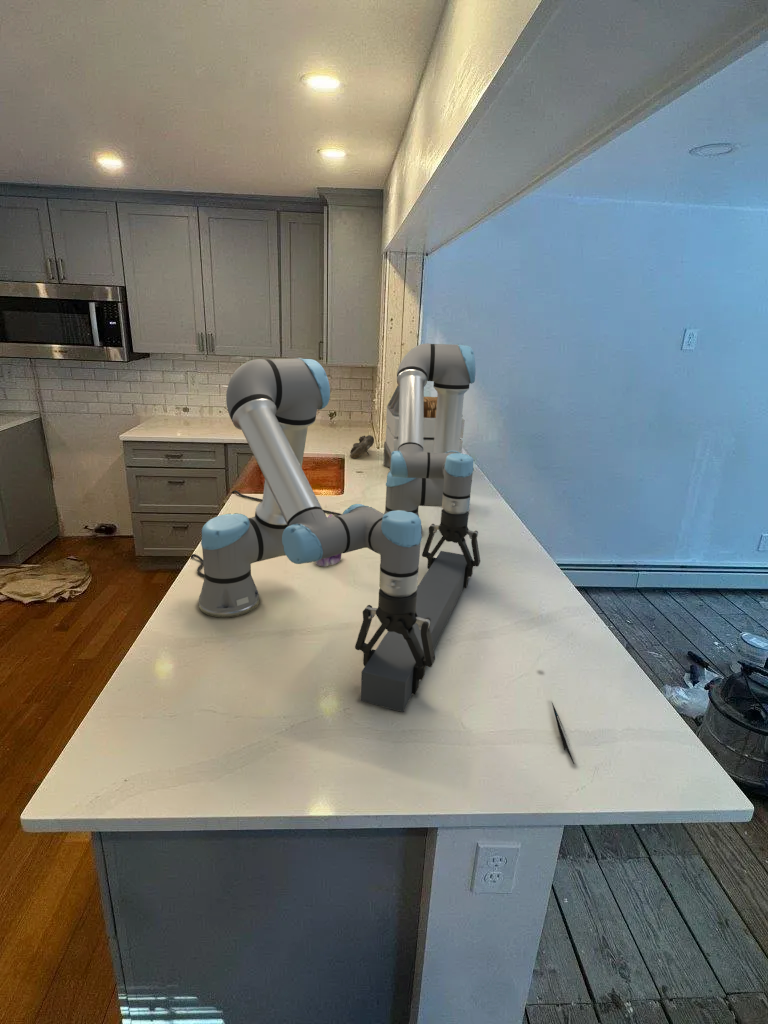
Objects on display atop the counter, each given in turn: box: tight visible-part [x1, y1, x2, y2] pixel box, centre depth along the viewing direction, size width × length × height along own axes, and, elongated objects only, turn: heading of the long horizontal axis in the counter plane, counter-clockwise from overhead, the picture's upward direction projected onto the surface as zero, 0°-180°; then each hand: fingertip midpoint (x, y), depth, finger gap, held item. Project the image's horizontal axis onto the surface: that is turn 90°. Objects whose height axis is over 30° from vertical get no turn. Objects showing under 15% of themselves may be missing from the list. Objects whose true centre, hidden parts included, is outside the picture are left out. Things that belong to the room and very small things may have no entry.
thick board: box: [360, 550, 470, 713], centre depth 141 cm, size 65×9×7 cm, turn 161°
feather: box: [540, 670, 575, 765], centre depth 113 cm, size 2×28×2 cm
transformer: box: [383, 384, 465, 472], centre depth 268 cm, size 34×33×41 cm
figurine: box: [315, 513, 342, 567], centre depth 173 cm, size 9×10×15 cm
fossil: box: [349, 434, 375, 459], centre depth 303 cm, size 22×10×15 cm
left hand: (392, 684), depth 119 cm, fingers closed on thick board, 9 cm apart
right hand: (448, 582), depth 165 cm, fingers closed on thick board, 9 cm apart
